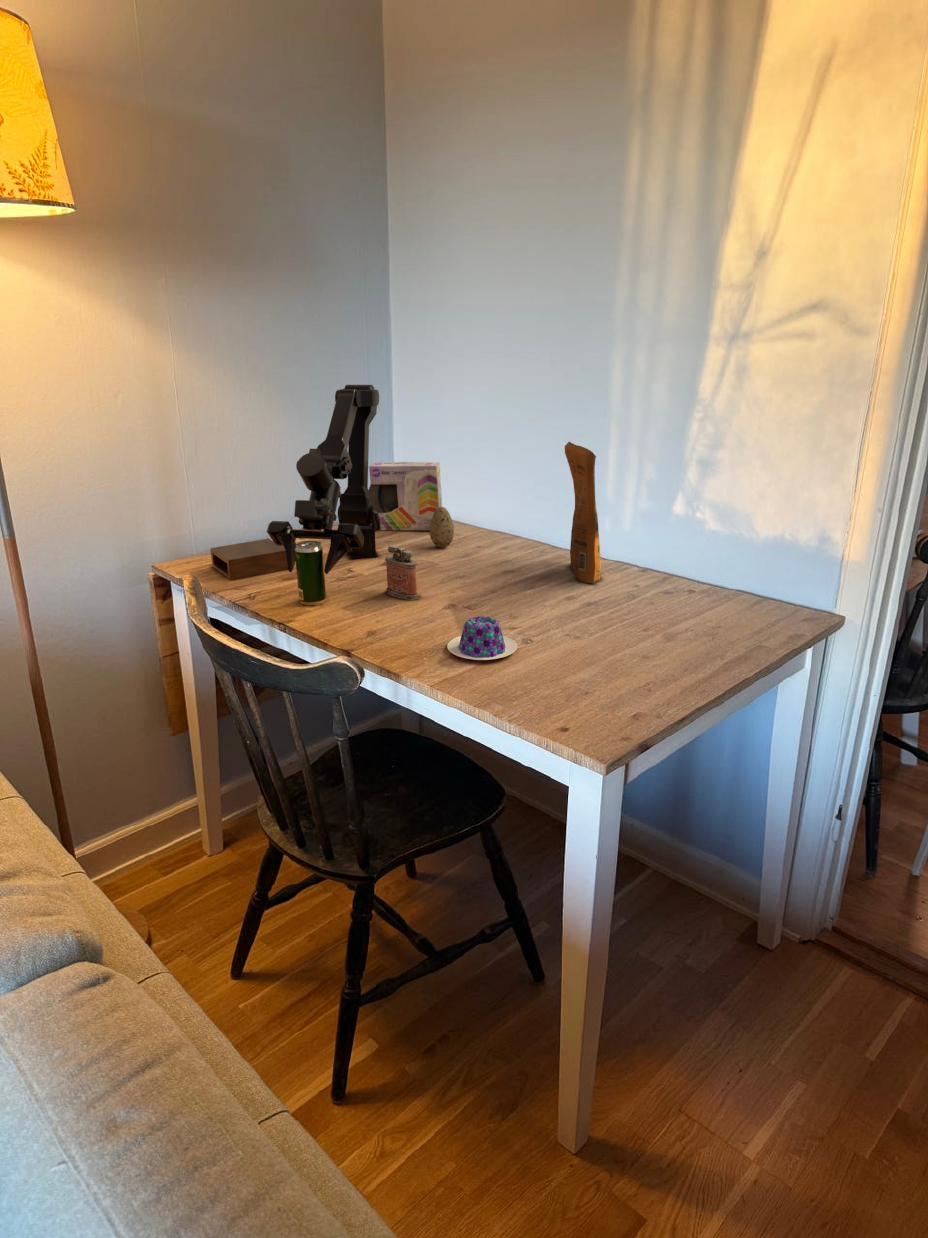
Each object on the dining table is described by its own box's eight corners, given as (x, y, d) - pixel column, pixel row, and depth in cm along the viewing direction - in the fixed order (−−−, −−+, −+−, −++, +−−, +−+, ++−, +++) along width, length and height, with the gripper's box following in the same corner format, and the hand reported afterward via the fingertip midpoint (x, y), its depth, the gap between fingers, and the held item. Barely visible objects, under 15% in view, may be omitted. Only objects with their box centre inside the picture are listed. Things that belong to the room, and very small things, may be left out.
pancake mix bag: (574, 587, 173) (579, 452, 163) (559, 561, 191) (563, 438, 181) (606, 586, 173) (613, 451, 163) (588, 560, 191) (594, 437, 181)
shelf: (270, 556, 196) (268, 538, 195) (290, 568, 187) (288, 549, 185) (212, 567, 189) (210, 548, 187) (230, 580, 180) (228, 560, 178)
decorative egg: (425, 547, 202) (424, 507, 199) (439, 542, 207) (438, 503, 203) (444, 551, 199) (444, 510, 195) (459, 545, 204) (458, 506, 200)
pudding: (464, 668, 134) (463, 639, 132) (436, 643, 144) (436, 615, 143) (529, 656, 139) (530, 627, 137) (498, 632, 149) (498, 605, 147)
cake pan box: (369, 530, 219) (365, 463, 213) (374, 525, 223) (370, 460, 217) (440, 532, 216) (438, 465, 210) (443, 528, 220) (442, 461, 214)
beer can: (309, 607, 162) (304, 549, 158) (294, 601, 166) (288, 543, 162) (331, 601, 166) (327, 543, 162) (316, 595, 169) (311, 538, 165)
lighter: (421, 597, 168) (420, 549, 164) (409, 601, 165) (408, 553, 162) (395, 588, 173) (393, 542, 169) (382, 592, 171) (380, 545, 167)
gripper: (265, 481, 163) (248, 550, 157) (356, 483, 160) (342, 554, 153) (284, 511, 173) (268, 577, 167) (370, 514, 170) (357, 581, 164)
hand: (307, 572), depth 162 cm, fingers open, 7 cm apart
